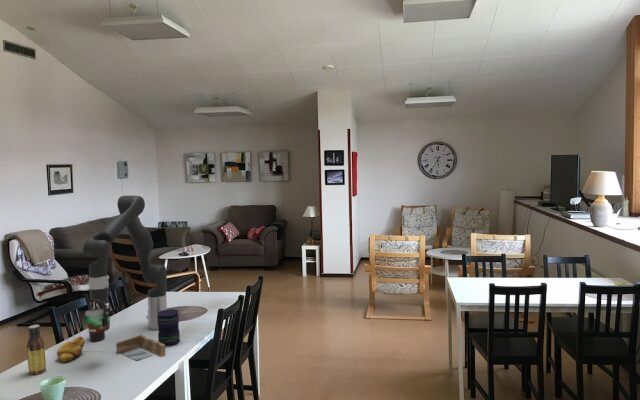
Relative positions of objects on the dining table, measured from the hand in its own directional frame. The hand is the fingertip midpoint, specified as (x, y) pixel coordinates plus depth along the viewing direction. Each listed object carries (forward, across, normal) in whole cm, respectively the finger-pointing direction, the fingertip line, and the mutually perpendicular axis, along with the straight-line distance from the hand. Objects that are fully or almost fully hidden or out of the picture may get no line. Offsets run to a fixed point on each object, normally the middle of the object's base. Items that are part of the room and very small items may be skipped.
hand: (101, 324), depth 201 cm
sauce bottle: (+17, -14, -21) cm, 31 cm away
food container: (+3, +1, 0) cm, 3 cm away
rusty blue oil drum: (+18, +2, +31) cm, 36 cm away
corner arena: (+17, +4, +15) cm, 23 cm away
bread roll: (+18, -19, -6) cm, 27 cm away
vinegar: (+18, -31, +12) cm, 37 cm away
